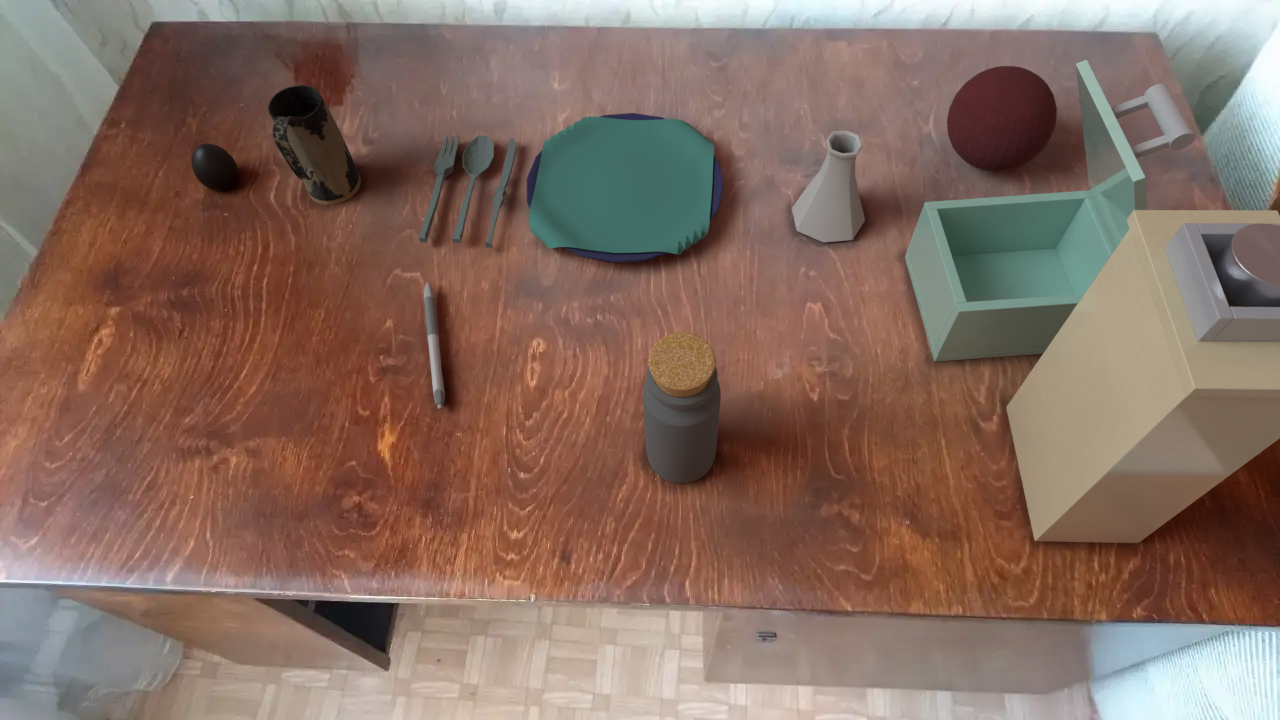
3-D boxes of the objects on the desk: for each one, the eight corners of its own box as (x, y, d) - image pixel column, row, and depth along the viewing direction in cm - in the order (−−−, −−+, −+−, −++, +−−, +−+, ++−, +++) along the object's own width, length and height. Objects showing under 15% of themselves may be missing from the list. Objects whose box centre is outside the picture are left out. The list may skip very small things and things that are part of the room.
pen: (436, 415, 76) (432, 407, 74) (424, 289, 83) (421, 280, 82) (448, 412, 76) (444, 405, 74) (435, 287, 83) (431, 278, 82)
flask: (785, 238, 85) (798, 165, 76) (796, 184, 88) (809, 108, 80) (860, 250, 83) (881, 178, 75) (868, 195, 87) (889, 120, 78)
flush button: (1279, 248, 49) (1303, 223, 47) (1308, 311, 47) (1334, 287, 45) (1200, 247, 50) (1221, 222, 48) (1224, 311, 47) (1247, 287, 45)
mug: (314, 164, 92) (269, 73, 82) (365, 164, 92) (326, 73, 81) (297, 221, 88) (247, 133, 78) (350, 221, 88) (307, 133, 77)
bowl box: (933, 362, 77) (958, 311, 70) (904, 257, 83) (924, 201, 76) (1099, 350, 77) (1140, 298, 70) (1057, 246, 83) (1091, 189, 76)
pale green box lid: (1133, 181, 58) (1217, 153, 56) (1075, 63, 64) (1149, 34, 62) (1137, 296, 70) (1207, 276, 68) (1088, 187, 76) (1151, 166, 74)
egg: (201, 198, 90) (177, 163, 86) (207, 169, 92) (184, 134, 88) (240, 194, 90) (218, 159, 86) (246, 165, 92) (225, 130, 88)
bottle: (647, 420, 75) (641, 324, 62) (715, 422, 74) (723, 325, 61) (645, 483, 72) (638, 395, 59) (715, 485, 71) (724, 397, 58)
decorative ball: (946, 112, 93) (973, 34, 84) (1042, 134, 90) (1080, 56, 82) (926, 177, 88) (953, 101, 79) (1027, 203, 86) (1066, 127, 77)
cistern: (1103, 405, 74) (1301, 183, 51) (1143, 547, 67) (1391, 368, 44) (1001, 403, 74) (1150, 183, 51) (1031, 545, 68) (1217, 366, 44)
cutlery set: (718, 278, 82) (719, 263, 80) (411, 263, 84) (405, 248, 82) (726, 129, 92) (727, 113, 91) (452, 119, 95) (447, 102, 93)
